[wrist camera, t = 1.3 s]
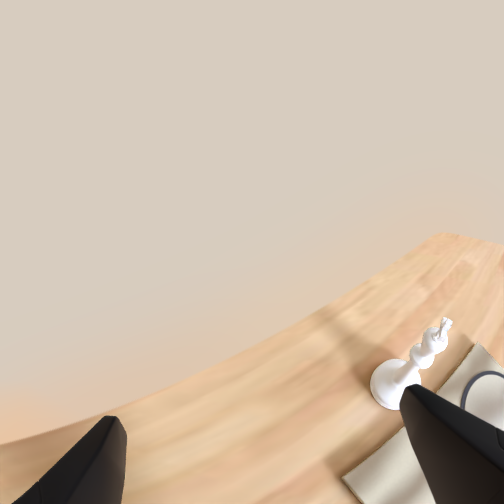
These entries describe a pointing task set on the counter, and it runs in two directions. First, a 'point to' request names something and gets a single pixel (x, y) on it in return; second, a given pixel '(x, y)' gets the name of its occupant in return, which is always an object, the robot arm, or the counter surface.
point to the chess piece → (407, 367)
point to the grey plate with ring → (399, 447)
